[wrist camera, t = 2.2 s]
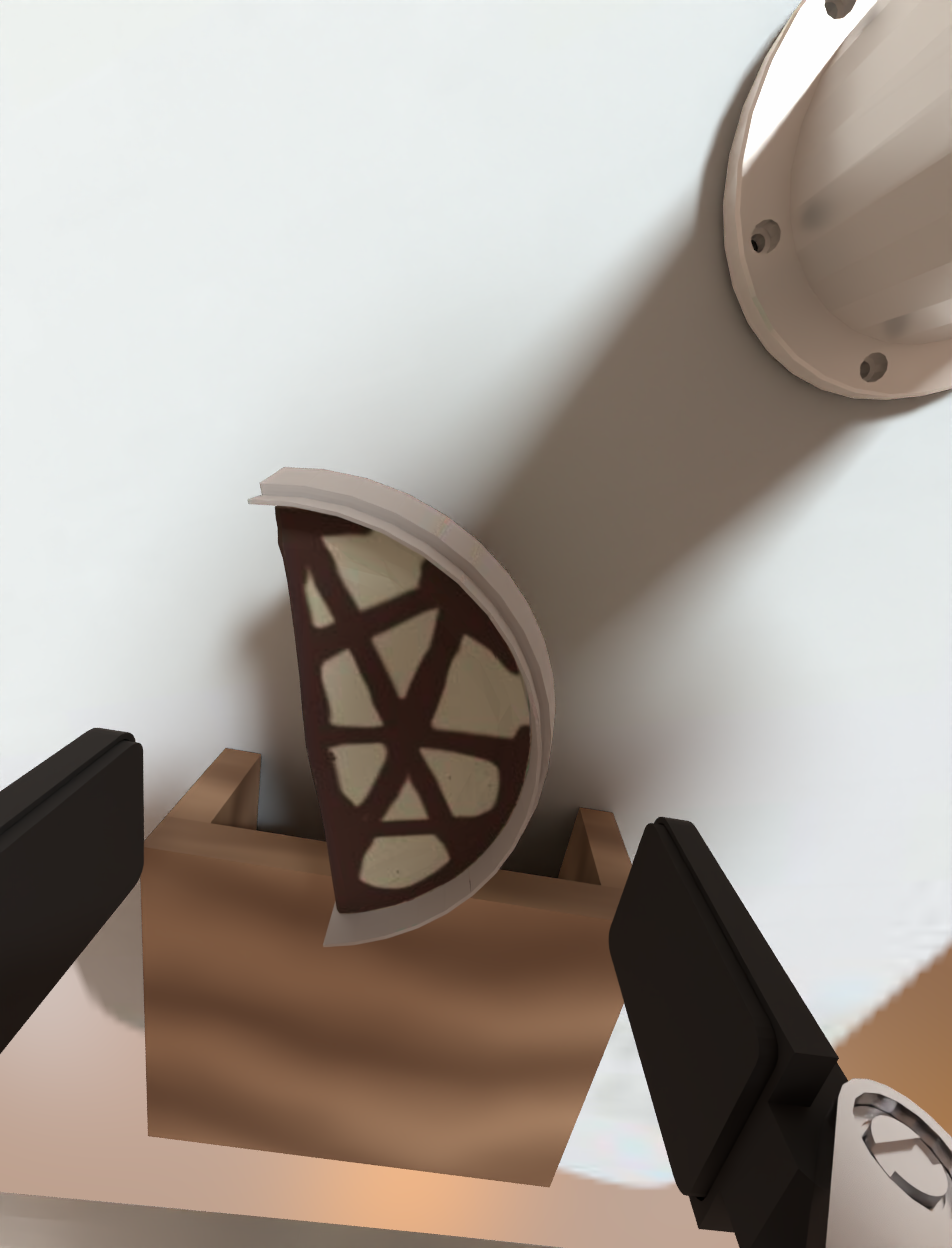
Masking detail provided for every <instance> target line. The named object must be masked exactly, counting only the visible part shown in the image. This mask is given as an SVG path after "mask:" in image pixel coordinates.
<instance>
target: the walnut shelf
mask: <svg viewBox="0 0 952 1248" xmlns="http://www.w3.org/2000/svg"><path fill="white" fill-rule="evenodd" d="M260 767H261V754H258V753H252V752H246V751H240V750H234V749H228V748H225V749H224V751H223V752H222V753H221V754H220V755H219V756H218V757H217V759H216V760H215V761H214V762H213V763H212V764H211V765H210V767H209V768H208V769H207V770H206V771H205V772H204V773H203V775H202V776H201V777H200V778H199V779H198V780H197V781H196V783H195V784H194V785H193V786H192V787H191V788H190V789H189V791H188V792H187V793H186V794H185V795H184V796H183V797H182V799H181V800H180V801H179V802H178V803H177V804H176V805H175V807H174V808H173V809H172V810H171V811H170V812H169V813H168V815H167V816H166V817H165V818H164V819H163V820H162V821H161V823H160V824H159V825H158V826H157V827H156V828H155V829H154V831H153V832H152V833H151V834H150V835H149V836H148V837H147V839H146V840H145V841H144V866H143V870H142V873H141V910H142V944H143V979H144V1013H145V1044H146V1045H145V1047H146V1079H147V1080H146V1081H147V1115H148V1136H152V1137H160V1138H168V1139H175V1140H183V1141H192V1142H199V1143H207V1144H214V1145H222V1146H230V1147H238V1148H245V1149H254V1150H261V1151H269V1152H277V1153H285V1154H293V1155H301V1156H308V1157H316V1158H324V1159H332V1160H339V1161H347V1162H355V1163H363V1164H371V1165H378V1166H387V1167H394V1168H402V1169H410V1170H418V1171H425V1172H433V1173H441V1174H449V1175H457V1176H464V1177H472V1178H480V1179H488V1180H496V1181H503V1182H512V1183H519V1184H527V1185H535V1186H543V1187H550V1185H551V1182H552V1180H553V1177H554V1175H555V1172H556V1170H557V1167H558V1165H559V1163H560V1160H561V1158H562V1155H563V1153H564V1150H565V1148H566V1145H567V1143H568V1140H569V1138H570V1135H571V1133H572V1130H573V1128H574V1125H575V1123H576V1120H577V1118H578V1115H579V1113H580V1111H581V1108H582V1106H583V1103H584V1101H585V1098H586V1096H587V1093H588V1091H589V1088H590V1086H591V1083H592V1081H593V1078H594V1076H595V1073H596V1071H597V1068H598V1066H599V1063H600V1061H601V1059H602V1056H603V1054H604V1051H605V1049H606V1046H607V1044H608V1041H609V1039H610V1036H611V1034H612V1031H613V1029H614V1026H615V1024H616V1021H617V1019H618V1016H619V1014H620V1011H621V1009H622V1007H623V1004H624V1000H623V997H622V993H621V990H620V986H619V983H618V979H617V976H616V972H615V969H614V965H613V962H612V958H611V955H610V950H609V930H610V927H611V924H612V921H613V918H614V915H615V912H616V910H617V907H618V904H619V901H620V898H621V895H622V892H623V890H624V887H625V884H626V881H627V878H628V875H629V873H630V870H631V867H632V864H631V861H630V858H629V856H628V853H627V850H626V848H625V845H624V842H623V839H622V837H621V834H620V831H619V829H618V826H617V823H616V820H615V818H614V815H613V813H611V812H605V811H599V810H593V809H587V808H581V807H579V811H578V814H577V817H576V820H575V824H574V827H573V830H572V833H571V836H570V840H569V843H568V846H567V849H566V853H565V856H564V859H563V862H562V866H561V869H560V872H559V875H558V879H557V878H551V877H545V876H538V875H532V874H526V873H519V872H513V871H507V870H501V869H499V870H498V871H497V873H496V874H495V875H494V876H493V877H492V878H491V879H490V880H489V881H488V882H487V883H486V884H485V885H484V886H482V887H481V888H480V889H479V890H478V891H477V892H476V893H475V894H474V895H473V896H472V897H470V898H469V899H467V900H466V901H465V902H463V903H462V904H460V905H459V906H457V907H456V908H455V909H453V910H452V911H450V912H449V913H447V914H446V915H444V916H442V917H439V918H437V919H435V920H433V921H431V922H429V923H427V924H425V925H423V926H421V927H419V928H417V929H414V930H411V931H408V932H405V933H402V934H399V935H396V936H393V937H390V938H387V939H383V940H378V941H373V942H367V943H362V944H357V945H348V946H334V947H323V943H324V939H325V936H326V932H327V929H328V925H329V922H330V918H331V915H332V911H333V908H334V904H335V895H334V888H333V882H332V876H331V869H330V863H329V856H328V850H327V843H326V842H325V841H319V840H313V839H306V838H300V837H294V836H288V835H281V834H275V833H269V832H263V831H257V815H258V799H259V783H260Z"/></svg>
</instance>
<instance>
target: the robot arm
mask: <svg viewBox="0 0 952 1248" xmlns="http://www.w3.org/2000/svg"><path fill="white" fill-rule="evenodd" d="M723 218H724V248H725V253H726V257H727V262H728V267H729V272H730V277H731V281H732V286H733V289H734V292H735V294H736V296H737V299H738V301H739V304H740V306H741V308H742V311H743V313H744V316H745V318H746V320H747V323H748V324H749V325H750V327H751V328H752V330H753V331H754V333H755V334H756V336H757V337H758V338H759V340H760V341H761V343H762V344H763V346H764V347H765V349H766V350H767V351H768V352H769V353H770V354H771V355H772V356H773V357H774V358H775V359H776V360H778V361H779V362H780V363H781V364H782V365H783V366H784V367H785V368H786V369H787V370H789V371H790V372H791V373H792V374H793V375H795V376H797V377H799V378H801V379H803V380H804V381H806V382H808V383H810V384H812V385H814V386H815V387H817V388H819V389H821V390H824V391H828V392H832V393H835V394H839V395H842V396H846V397H850V398H856V399H876V400H891V399H898V398H907V397H916V396H924V395H928V394H932V393H936V392H940V391H944V390H948V389H952V0H802V1H801V3H800V4H799V5H798V7H797V8H796V9H795V11H794V12H793V14H792V15H791V17H790V19H789V20H788V22H787V23H786V25H785V27H784V28H783V30H782V31H781V33H780V34H779V36H778V38H777V39H776V41H775V42H774V44H773V46H772V47H771V49H770V50H769V52H768V53H767V55H766V57H765V58H764V61H763V63H762V65H761V67H760V70H759V72H758V74H757V76H756V79H755V81H754V83H753V85H752V88H751V90H750V92H749V94H748V96H747V99H746V101H745V103H744V105H743V108H742V112H741V115H740V119H739V122H738V126H737V129H736V133H735V137H734V140H733V144H732V147H731V151H730V154H729V160H728V168H727V176H726V184H725V192H724V199H723ZM751 240H754V241H755V242H756V243H757V245H758V250H757V251H755V250H754V248H753V246H752V244H751ZM860 369H861V370H860ZM143 866H144V801H143V747H142V745H141V744H140V743H137V742H135V738H134V736H133V735H132V734H131V733H128V732H122V731H115V730H109V729H103V728H93V729H91V730H89V731H87V732H86V733H84V734H83V735H81V736H80V737H78V738H77V739H75V740H74V741H73V742H71V743H70V744H68V745H67V746H65V747H64V748H62V749H61V750H60V751H58V752H57V753H55V754H54V755H52V756H51V757H49V758H48V759H47V760H45V761H44V762H42V763H41V764H39V765H38V766H36V767H35V768H34V769H32V770H31V771H29V772H28V773H26V774H25V775H23V776H22V777H20V778H19V779H18V780H16V781H15V782H13V783H12V784H10V785H9V786H7V787H6V788H5V789H3V790H2V791H0V1054H1V1052H2V1051H3V1050H4V1049H5V1047H6V1046H7V1045H8V1044H9V1042H10V1041H11V1040H12V1039H13V1037H14V1036H15V1035H16V1034H17V1032H18V1031H19V1030H20V1029H21V1027H22V1026H23V1024H25V1022H26V1021H27V1020H28V1019H29V1017H30V1016H31V1015H32V1014H33V1012H34V1011H35V1010H36V1009H37V1007H38V1006H39V1005H40V1004H41V1002H42V1001H43V1000H44V999H45V997H46V996H47V995H48V994H49V992H50V991H51V990H52V989H53V987H54V986H55V985H56V984H57V982H58V981H59V980H60V979H61V977H62V976H63V975H64V974H65V972H66V971H67V970H68V969H69V967H70V966H71V965H72V964H73V962H74V961H75V960H76V959H77V957H78V956H79V955H80V954H81V952H82V951H83V950H84V949H85V947H86V946H87V945H88V944H89V943H90V941H91V940H92V939H93V938H94V936H95V935H96V934H97V933H98V931H99V930H100V929H101V928H102V926H103V925H104V924H105V923H106V921H107V920H108V919H109V918H110V916H111V915H112V914H113V913H114V911H115V910H116V909H117V908H118V906H119V905H120V904H121V903H122V901H123V900H124V899H125V898H126V896H127V895H128V894H129V893H130V891H131V890H132V889H133V888H134V886H135V885H136V883H137V882H138V880H139V878H140V876H141V873H142V870H143ZM609 950H610V955H611V958H612V962H613V965H614V969H615V972H616V976H617V979H618V983H619V986H620V990H621V993H622V997H623V1000H624V1004H625V1007H626V1011H627V1014H628V1018H629V1021H630V1025H631V1028H632V1032H633V1035H634V1039H635V1042H636V1046H637V1050H638V1053H639V1057H640V1060H641V1064H642V1067H643V1071H644V1074H645V1078H646V1081H647V1085H648V1088H649V1092H650V1095H651V1099H652V1102H653V1106H654V1109H655V1113H656V1116H657V1120H658V1123H659V1127H660V1130H661V1134H662V1137H663V1141H664V1144H665V1148H666V1151H667V1155H668V1158H669V1162H670V1165H671V1169H672V1172H673V1176H674V1179H675V1182H676V1184H677V1186H678V1188H679V1190H680V1191H681V1192H682V1194H683V1195H688V1196H689V1198H690V1202H691V1205H692V1208H693V1212H694V1215H695V1218H696V1221H697V1225H698V1228H699V1229H706V1230H715V1231H726V1232H734V1233H735V1235H736V1239H737V1241H738V1244H739V1247H740V1248H952V1137H951V1136H950V1135H948V1133H947V1132H946V1131H945V1130H944V1129H943V1128H942V1127H941V1126H940V1125H939V1124H938V1123H937V1122H936V1121H935V1120H934V1119H933V1118H932V1117H931V1116H930V1115H929V1114H927V1113H926V1112H925V1111H923V1110H922V1109H921V1108H919V1107H918V1106H917V1105H916V1104H915V1103H913V1102H912V1101H911V1100H910V1099H908V1098H907V1097H905V1096H903V1095H902V1094H900V1093H898V1092H897V1091H895V1090H893V1089H892V1088H890V1087H888V1086H886V1085H884V1084H881V1083H877V1082H875V1081H872V1080H869V1079H852V1080H850V1081H848V1080H847V1078H846V1077H845V1075H844V1073H843V1072H842V1070H841V1068H840V1067H839V1065H838V1063H837V1060H838V1059H839V1058H838V1056H837V1054H836V1053H835V1051H834V1050H833V1048H832V1046H831V1045H830V1043H829V1042H828V1040H827V1038H826V1037H825V1035H824V1033H823V1032H822V1030H821V1029H820V1027H819V1025H818V1024H817V1022H816V1021H815V1019H814V1017H813V1016H812V1014H811V1012H810V1011H809V1009H808V1008H807V1006H806V1004H805V1003H804V1001H803V1000H802V998H801V996H800V995H799V993H798V992H797V990H796V988H795V987H794V985H793V983H792V982H791V980H790V979H789V977H788V975H787V974H786V972H785V971H784V969H783V967H782V966H781V964H780V963H779V961H778V959H777V958H776V956H775V954H774V953H773V951H772V950H771V948H770V946H769V945H768V943H767V942H766V940H765V938H764V937H763V935H762V934H761V932H760V930H759V929H758V927H757V925H756V924H755V922H754V921H753V919H752V917H751V916H750V914H749V913H748V911H747V909H746V908H745V906H744V904H743V903H742V901H741V900H740V898H739V896H738V895H737V893H736V892H735V890H734V888H733V887H732V885H731V884H730V882H729V880H728V879H727V877H726V875H725V874H724V872H723V871H722V869H721V867H720V866H719V864H718V863H717V861H716V859H715V858H714V856H713V855H712V853H711V851H710V850H709V848H708V846H707V845H706V843H705V842H704V840H703V838H702V837H701V835H700V834H699V832H698V830H697V829H696V827H695V826H694V825H693V823H692V822H689V821H685V820H679V819H672V818H666V817H659V818H657V819H656V820H655V823H654V824H653V823H649V824H648V825H647V826H646V828H645V830H644V833H643V835H642V838H641V841H640V844H639V847H638V850H637V853H636V855H635V858H634V861H633V864H632V867H631V870H630V873H629V875H628V878H627V881H626V884H625V887H624V890H623V892H622V895H621V898H620V901H619V904H618V907H617V910H616V912H615V915H614V918H613V921H612V924H611V927H610V930H609ZM0 1248H561V1247H551V1246H542V1245H532V1244H523V1243H514V1242H503V1241H495V1240H484V1239H475V1238H466V1237H456V1236H446V1235H438V1234H428V1233H417V1232H408V1231H398V1230H387V1229H378V1228H368V1227H358V1226H347V1225H338V1224H328V1223H318V1222H308V1221H298V1220H288V1219H278V1218H267V1217H257V1216H247V1215H237V1214H227V1213H216V1212H206V1211H196V1210H185V1209H175V1208H165V1207H155V1206H144V1205H133V1204H122V1203H111V1202H101V1201H89V1200H77V1199H68V1198H57V1197H46V1196H36V1195H25V1194H14V1193H3V1192H0Z"/></svg>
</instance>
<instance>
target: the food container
mask: <svg viewBox="0 0 952 1248" xmlns="http://www.w3.org/2000/svg"><path fill="white" fill-rule="evenodd" d="M260 488H261V493H262V495H260V496H257V497H254V498H251V499H248V504H259V505H276V506H275V514H276V521H277V527H278V545H279V548H280V551H281V554H282V557H283V561H284V566H285V571H286V577H287V582H288V589H289V596H290V604H291V611H292V618H293V625H294V633H295V641H296V650H297V658H298V667H299V676H300V688H301V700H302V711H303V721H304V730H305V741H306V748H307V753H308V757H309V762H310V767H311V771H312V776H313V780H314V784H315V788H316V792H317V796H318V801H319V805H320V810H321V815H322V820H323V824H324V830H325V837H326V843H327V850H328V856H329V863H330V869H331V876H332V882H333V888H334V895H335V904H334V908H333V911H332V915H331V918H330V922H329V925H328V929H327V932H326V936H325V939H324V943H323V947H334V946H348V945H357V944H362V943H367V942H373V941H378V940H383V939H387V938H390V937H393V936H396V935H399V934H402V933H405V932H408V931H411V930H414V929H417V928H419V927H421V926H423V925H425V924H427V923H429V922H431V921H433V920H435V919H437V918H439V917H442V916H444V915H446V914H447V913H449V912H450V911H452V910H453V909H455V908H456V907H457V906H459V905H460V904H462V903H463V902H465V901H466V900H467V899H469V898H470V897H472V896H473V895H474V894H475V893H476V892H477V891H478V890H479V889H480V888H481V887H482V886H484V885H485V884H486V883H487V882H488V881H489V880H490V879H491V878H492V877H493V876H494V875H495V874H496V873H497V871H498V870H499V869H500V867H501V866H502V865H503V863H504V862H505V861H506V859H507V858H508V857H509V855H510V854H511V853H512V851H513V850H514V849H515V847H516V845H517V843H518V841H519V839H520V837H521V836H522V834H523V833H524V831H525V829H526V827H527V825H528V823H529V821H530V819H531V817H532V815H533V813H534V811H535V809H536V807H537V805H538V802H539V799H540V796H541V793H542V789H543V786H544V783H545V779H546V776H547V772H548V766H549V759H550V753H551V746H552V739H553V730H554V720H555V711H556V705H555V691H554V676H553V671H552V667H551V663H550V659H549V655H548V651H547V647H546V643H545V640H544V637H543V635H542V633H541V630H540V628H539V626H538V624H537V621H536V619H535V617H534V614H533V612H532V610H531V608H530V606H529V604H528V602H527V601H526V599H525V598H524V596H523V595H522V593H521V592H520V590H519V589H518V587H517V586H516V584H515V583H514V581H513V580H512V578H511V577H510V575H509V573H508V572H507V571H506V570H505V569H504V568H503V567H502V566H501V565H500V563H499V562H498V561H497V560H496V559H495V558H494V557H493V556H492V555H491V554H490V553H489V551H488V550H487V549H486V548H485V547H484V546H483V545H482V544H481V543H480V542H479V541H478V540H477V539H475V538H474V537H473V536H471V535H470V534H469V533H468V532H466V531H465V530H464V529H463V528H461V527H460V526H459V525H458V524H456V523H455V522H454V521H453V520H451V519H450V518H449V517H448V516H446V515H444V514H443V513H441V512H439V511H437V510H436V509H434V508H432V507H430V506H429V505H427V504H425V503H423V502H422V501H420V500H418V499H416V498H415V497H413V496H411V495H409V494H407V493H404V492H402V491H399V490H396V489H394V488H391V487H388V486H386V485H383V484H380V483H378V482H375V481H373V480H370V479H367V478H363V477H358V476H353V475H348V474H344V473H339V472H334V471H329V470H325V469H309V468H289V467H283V468H282V469H280V470H279V471H277V472H276V473H274V474H273V475H271V476H270V477H268V478H267V479H265V480H264V481H262V482H261V483H260Z"/></svg>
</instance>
